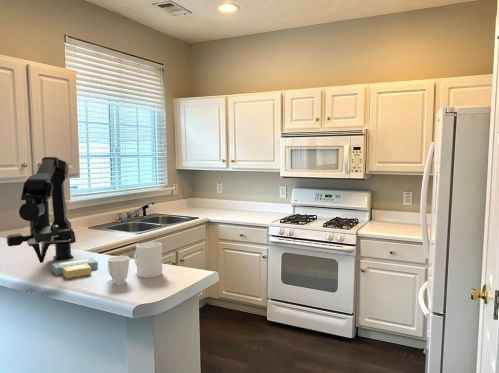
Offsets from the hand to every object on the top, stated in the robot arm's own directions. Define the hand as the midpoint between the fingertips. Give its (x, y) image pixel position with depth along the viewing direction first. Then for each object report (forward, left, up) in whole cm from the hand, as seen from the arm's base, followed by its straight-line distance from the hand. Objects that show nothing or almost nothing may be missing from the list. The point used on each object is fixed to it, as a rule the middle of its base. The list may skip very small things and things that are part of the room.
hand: (41, 262), depth 129 cm
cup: (+16, +20, -6) cm, 26 cm away
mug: (+14, +31, -6) cm, 34 cm away
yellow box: (0, +11, -6) cm, 13 cm away
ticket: (-7, +12, -6) cm, 15 cm away
